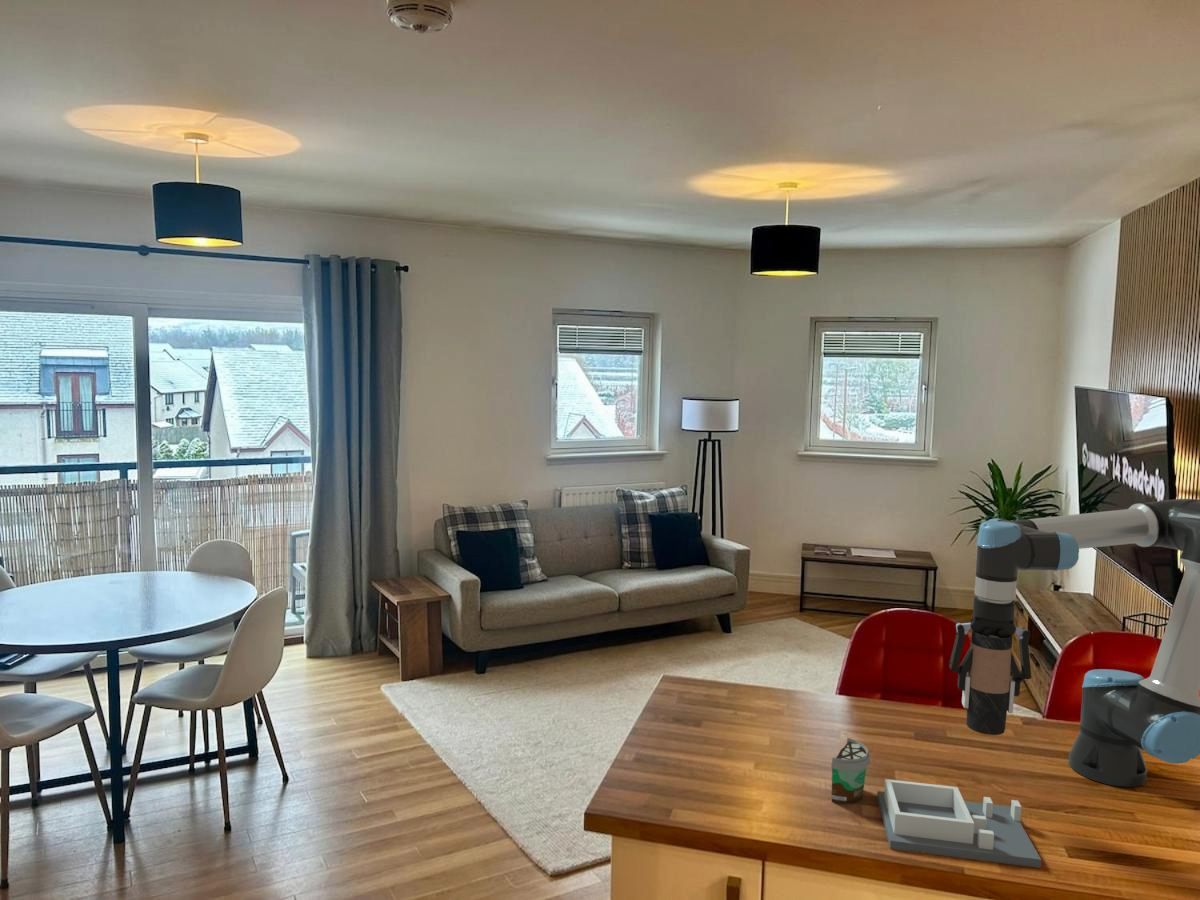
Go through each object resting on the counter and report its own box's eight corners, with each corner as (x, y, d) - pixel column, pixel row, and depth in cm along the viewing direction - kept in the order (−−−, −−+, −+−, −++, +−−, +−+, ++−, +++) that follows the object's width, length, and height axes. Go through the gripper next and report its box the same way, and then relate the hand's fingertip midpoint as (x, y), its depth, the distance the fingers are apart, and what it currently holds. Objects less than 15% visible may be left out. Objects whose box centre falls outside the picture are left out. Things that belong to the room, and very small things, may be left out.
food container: (859, 814, 167) (862, 766, 166) (829, 805, 170) (831, 758, 169) (874, 788, 177) (877, 744, 176) (846, 780, 181) (848, 736, 180)
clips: (1016, 815, 165) (1017, 800, 164) (1040, 855, 151) (1041, 840, 150) (961, 808, 167) (962, 794, 167) (979, 848, 153) (980, 832, 152)
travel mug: (1010, 737, 164) (1017, 640, 162) (968, 733, 166) (975, 636, 164) (1001, 722, 172) (1007, 628, 170) (961, 718, 173) (968, 625, 172)
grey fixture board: (1010, 814, 168) (1011, 806, 168) (1040, 868, 150) (1041, 859, 149) (877, 798, 173) (877, 791, 173) (890, 848, 155) (890, 840, 155)
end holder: (956, 805, 168) (957, 787, 167) (972, 843, 154) (974, 823, 154) (884, 797, 170) (885, 778, 170) (894, 834, 157) (895, 814, 156)
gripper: (1044, 598, 168) (1036, 706, 170) (937, 589, 172) (930, 695, 174) (1056, 608, 160) (1047, 721, 162) (943, 598, 165) (936, 709, 167)
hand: (986, 707), depth 168 cm, fingers closed on travel mug, 8 cm apart
